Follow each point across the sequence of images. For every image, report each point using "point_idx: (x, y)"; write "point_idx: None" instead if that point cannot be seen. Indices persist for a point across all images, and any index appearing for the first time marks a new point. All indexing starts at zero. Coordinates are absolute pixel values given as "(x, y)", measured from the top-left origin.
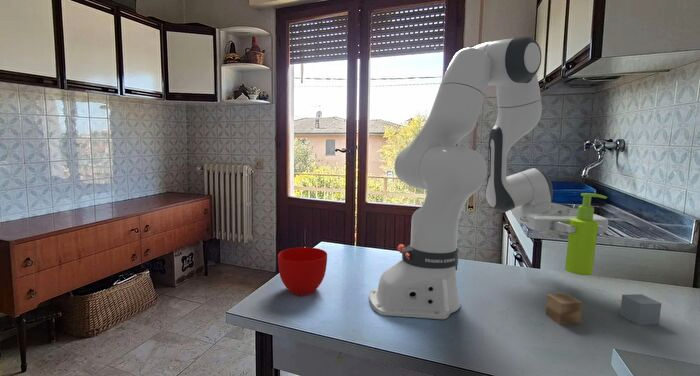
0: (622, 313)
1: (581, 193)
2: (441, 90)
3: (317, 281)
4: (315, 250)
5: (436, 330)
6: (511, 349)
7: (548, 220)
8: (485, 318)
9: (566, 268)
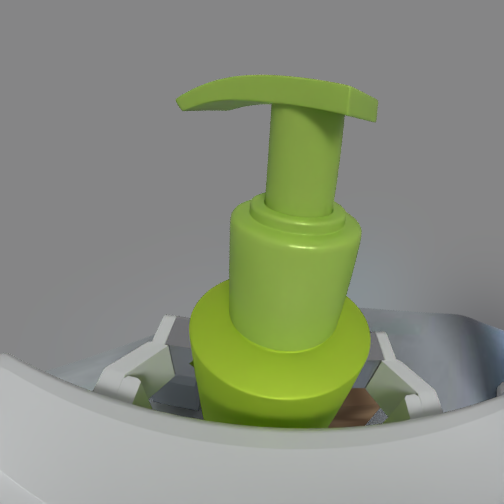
0: (198, 403)
1: (364, 93)
2: None
3: None
4: None
5: (498, 364)
6: (434, 337)
7: (480, 403)
8: (459, 399)
9: None
